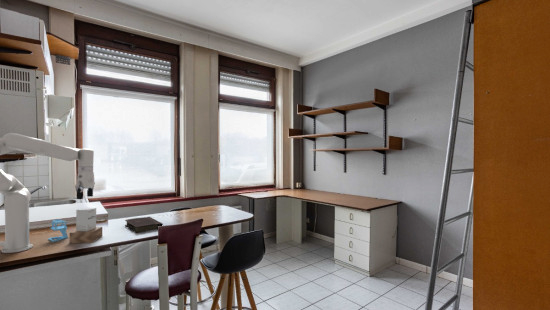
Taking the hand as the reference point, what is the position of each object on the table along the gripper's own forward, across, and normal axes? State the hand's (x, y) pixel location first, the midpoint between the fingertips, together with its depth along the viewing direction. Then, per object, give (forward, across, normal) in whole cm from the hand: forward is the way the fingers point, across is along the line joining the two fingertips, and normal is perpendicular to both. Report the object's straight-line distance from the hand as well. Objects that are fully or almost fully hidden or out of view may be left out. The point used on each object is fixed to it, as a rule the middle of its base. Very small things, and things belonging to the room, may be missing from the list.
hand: (85, 197), depth 167 cm
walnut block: (+25, 0, -2) cm, 25 cm away
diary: (+25, +27, -24) cm, 44 cm away
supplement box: (+19, 0, -1) cm, 19 cm away
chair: (+26, +2, +15) cm, 30 cm away
